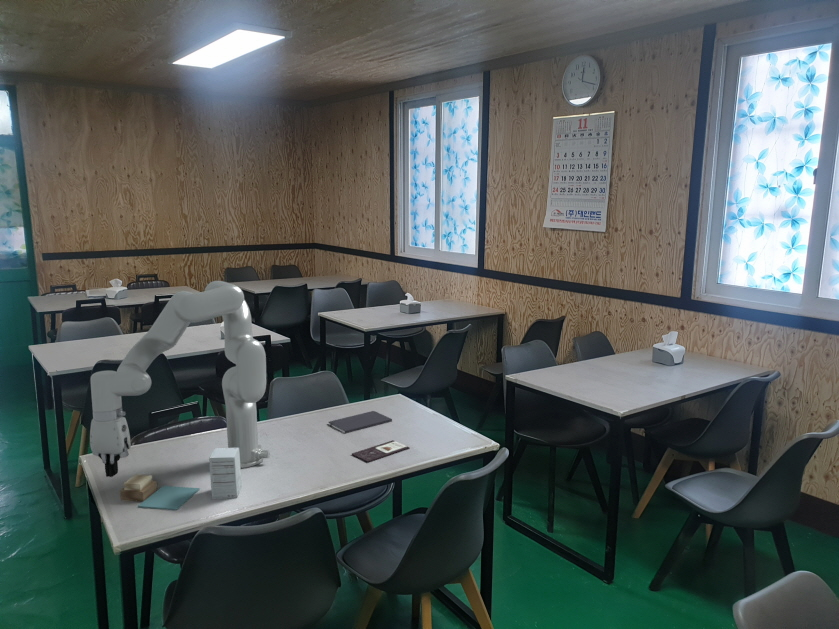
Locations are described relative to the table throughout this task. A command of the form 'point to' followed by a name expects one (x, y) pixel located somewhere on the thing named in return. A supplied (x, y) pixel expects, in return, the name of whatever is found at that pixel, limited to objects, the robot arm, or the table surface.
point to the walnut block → (139, 493)
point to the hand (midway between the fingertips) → (111, 474)
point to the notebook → (359, 422)
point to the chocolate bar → (380, 451)
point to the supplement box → (225, 473)
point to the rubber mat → (169, 497)
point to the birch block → (138, 482)
